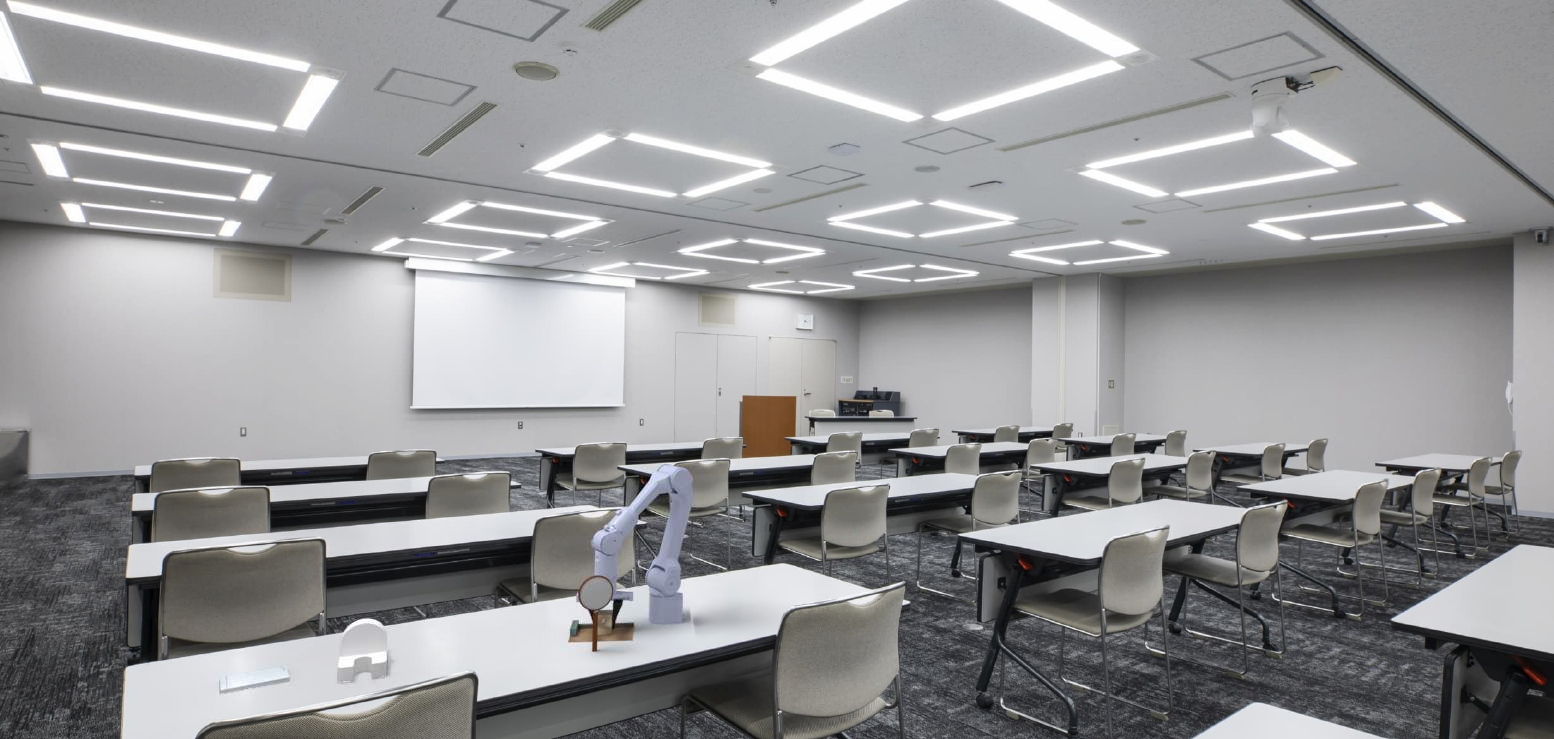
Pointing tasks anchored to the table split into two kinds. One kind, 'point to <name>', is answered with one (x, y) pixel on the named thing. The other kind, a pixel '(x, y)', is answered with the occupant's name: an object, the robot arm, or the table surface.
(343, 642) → the white slotted bracket
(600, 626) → the beige block with rod
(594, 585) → the magnifying glass
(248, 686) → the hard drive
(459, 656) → the table surface
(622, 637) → the board
